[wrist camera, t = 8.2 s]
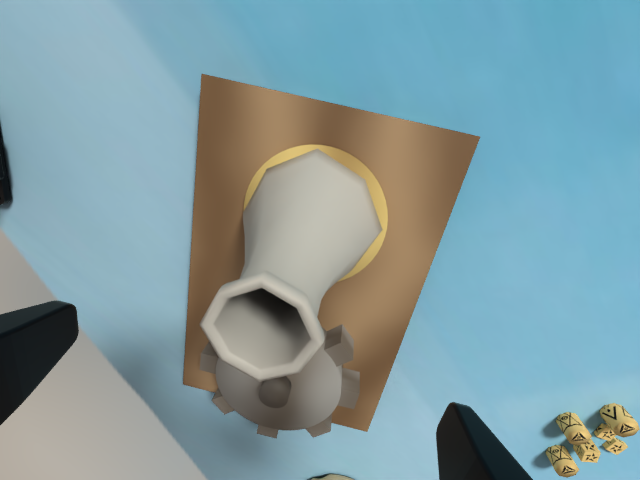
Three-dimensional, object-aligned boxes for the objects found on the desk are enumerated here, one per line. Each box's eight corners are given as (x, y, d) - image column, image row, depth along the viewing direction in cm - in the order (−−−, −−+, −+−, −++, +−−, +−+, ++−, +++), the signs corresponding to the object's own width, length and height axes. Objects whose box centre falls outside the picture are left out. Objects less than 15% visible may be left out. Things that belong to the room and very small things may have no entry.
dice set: (541, 451, 25) (555, 477, 23) (539, 401, 23) (554, 425, 21) (616, 447, 24) (637, 474, 22) (620, 394, 22) (643, 419, 20)
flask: (305, 299, 20) (256, 463, 10) (222, 208, 18) (79, 307, 9) (406, 230, 17) (457, 363, 8) (320, 121, 16) (264, 131, 7)
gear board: (190, 378, 25) (159, 426, 21) (211, 76, 17) (168, 65, 13) (364, 422, 25) (365, 480, 21) (472, 135, 17) (506, 141, 13)
